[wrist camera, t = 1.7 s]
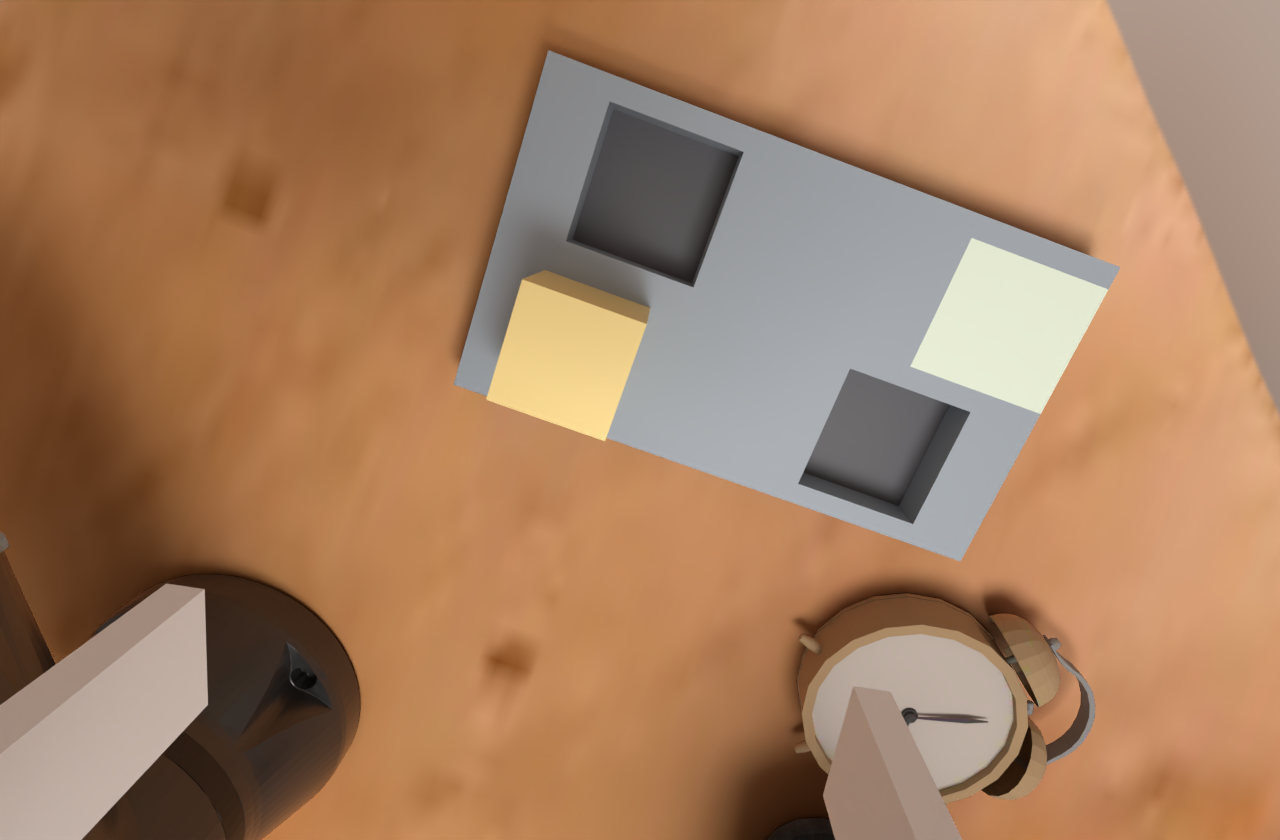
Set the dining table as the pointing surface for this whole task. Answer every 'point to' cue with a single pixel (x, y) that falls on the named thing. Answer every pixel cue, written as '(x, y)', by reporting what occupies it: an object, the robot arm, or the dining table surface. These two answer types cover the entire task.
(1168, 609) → the dining table surface
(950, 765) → the alarm clock
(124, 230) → the dining table surface
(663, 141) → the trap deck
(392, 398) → the dining table surface
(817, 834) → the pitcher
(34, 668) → the robot arm
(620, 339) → the block
